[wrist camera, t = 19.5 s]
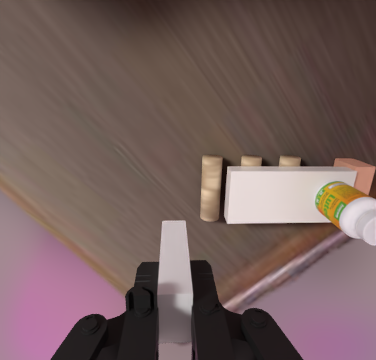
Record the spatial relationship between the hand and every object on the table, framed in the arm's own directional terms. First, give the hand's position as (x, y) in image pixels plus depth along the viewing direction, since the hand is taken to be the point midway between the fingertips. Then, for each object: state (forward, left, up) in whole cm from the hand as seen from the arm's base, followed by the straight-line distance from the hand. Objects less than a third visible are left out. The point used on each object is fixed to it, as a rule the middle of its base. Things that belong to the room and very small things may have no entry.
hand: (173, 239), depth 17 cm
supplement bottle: (+23, -5, -19) cm, 30 cm away
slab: (+17, -5, -21) cm, 28 cm away
